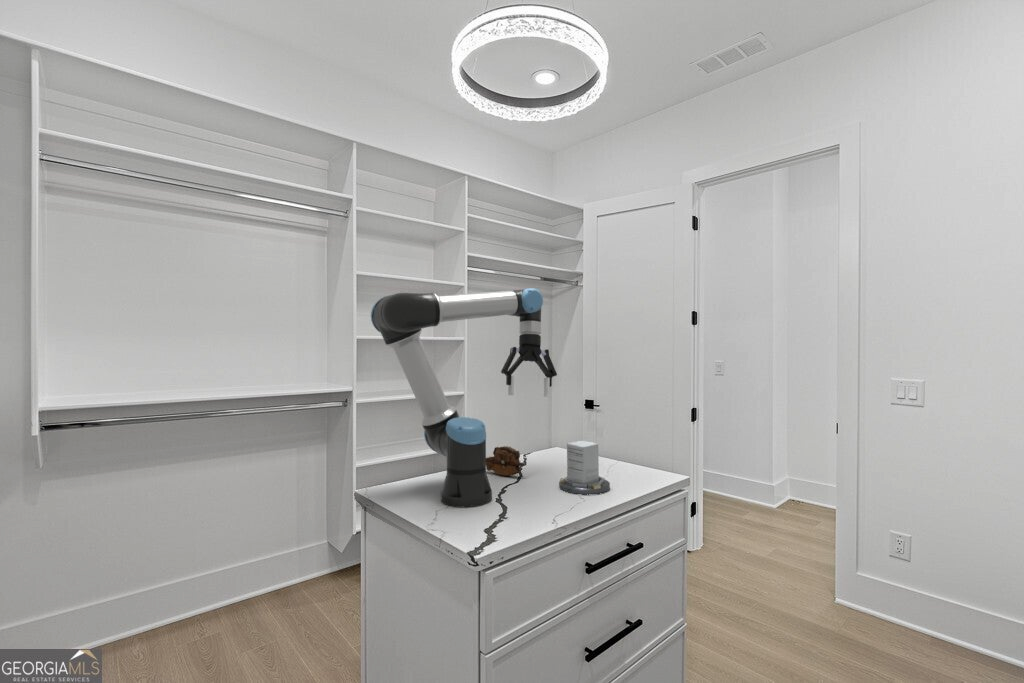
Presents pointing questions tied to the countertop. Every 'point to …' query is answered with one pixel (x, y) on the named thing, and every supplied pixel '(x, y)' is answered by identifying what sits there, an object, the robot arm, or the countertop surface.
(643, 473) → the countertop surface
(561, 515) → the countertop surface
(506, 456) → the wooden carving
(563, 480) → the ring
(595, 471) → the supplement box
